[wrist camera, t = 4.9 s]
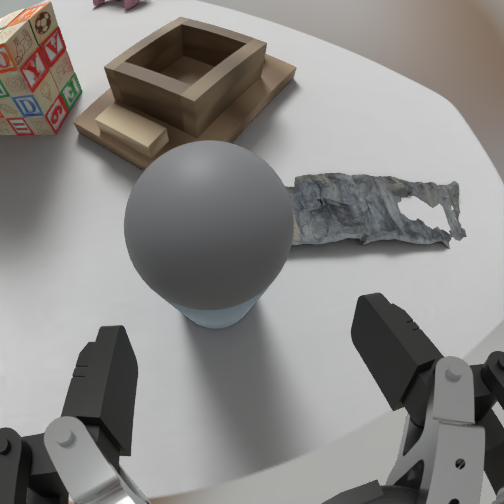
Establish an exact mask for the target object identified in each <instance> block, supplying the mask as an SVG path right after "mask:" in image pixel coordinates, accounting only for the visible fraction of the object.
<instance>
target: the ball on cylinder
mask: <svg viewBox="0 0 504 504" xmlns="http://www.w3.org/2000/svg"><path fill="white" fill-rule="evenodd" d="M293 232H294V217H293V210H292V206H291V202H290V198H289V195H288V193H287V190H286V188H285V186H284V184H283V183H282V181H281V179H280V178H279V176H278V175H277V174H276V172H275V171H274V170H273V169H272V168H271V167H270V166H269V165H268V163H267V162H265V161H264V160H263V159H262V158H260V157H259V156H257V155H256V154H254V153H253V152H251V151H249V150H247V149H245V148H243V147H241V146H238V145H235V144H232V143H228V142H223V141H214V140H207V141H196V142H191V143H187V144H184V145H181V146H178V147H176V148H174V149H171V150H169V151H168V152H166V153H164V154H163V155H161V156H160V157H159V158H157V159H156V160H155V161H154V162H153V163H151V164H150V165H149V166H148V167H147V168H146V169H145V171H144V172H143V173H142V174H141V176H140V177H139V179H138V180H137V182H136V184H135V185H134V187H133V189H132V192H131V194H130V196H129V199H128V202H127V206H126V211H125V219H124V235H125V241H126V246H127V249H128V253H129V256H130V259H131V261H132V263H133V265H134V267H135V269H136V270H137V272H138V273H139V275H140V276H141V278H142V279H143V280H144V281H145V282H146V284H147V285H148V286H149V287H150V288H151V289H152V290H154V291H155V292H156V293H157V294H158V295H160V296H161V297H162V298H163V299H165V300H166V301H167V302H168V303H170V304H171V305H172V306H174V307H175V308H176V309H177V310H179V311H180V312H181V313H183V314H184V315H185V316H186V317H188V318H189V319H190V320H192V321H193V322H194V323H196V324H198V325H200V326H203V327H206V328H211V329H220V328H226V327H229V326H231V325H233V324H235V323H237V322H238V321H240V320H241V319H242V318H243V317H244V316H245V315H246V314H247V312H248V311H249V310H250V309H251V308H252V306H253V305H254V304H255V303H256V302H257V300H258V299H259V298H260V297H261V295H262V294H263V293H264V292H265V291H266V289H267V288H268V287H269V286H270V285H271V283H272V282H273V281H274V280H275V278H276V277H277V275H278V274H279V273H280V271H281V270H282V268H283V266H284V264H285V262H286V260H287V258H288V255H289V252H290V249H291V245H292V240H293Z"/></svg>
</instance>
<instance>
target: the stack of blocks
mask: <svg viewBox="0 0 504 504" xmlns="http://www.w3.org/2000/svg"><path fill="white" fill-rule="evenodd" d="M81 93H82V89H81V86H80V84H79V81H78V78H77V76H76V73H75V72H74V70H73V67H72V64H71V61H70V58H69V56H68V53H67V51H66V46H65V43H64V40H63V37H62V34H61V31H60V28H59V26H58V24H57V20H56V17H55V14H54V10H53V7H52V3H51V1H50V2H46V3H43V4H40V5H37V6H34V7H31V8H28V9H26V8H24V9H21V10H19V11H16V12H13V13H11V14H9V15H7V16H5V17H3V18H1V19H0V136H1V135H56V134H57V132H58V130H59V128H60V127H61V125H62V123H63V121H64V120H65V118H66V116H67V115H68V113H69V111H70V109H71V108H72V106H73V105H74V103H75V101H76V100H77V98H78V97H79V95H80V94H81Z"/></svg>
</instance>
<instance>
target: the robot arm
mask: <svg viewBox="0 0 504 504" xmlns="http://www.w3.org/2000/svg"><path fill="white" fill-rule="evenodd" d="M351 337H352V341H353V344H354V346H355V347H356V349H357V351H358V352H359V354H360V356H361V357H362V359H363V361H364V362H365V364H366V366H367V367H368V369H369V371H370V372H371V374H372V376H373V377H374V379H375V381H376V383H377V384H378V386H379V388H380V389H381V391H382V393H383V395H384V396H385V398H386V400H387V401H388V403H389V405H390V407H391V408H392V410H393V411H395V410H397V409H400V408H402V407H405V408H406V410H407V412H408V414H407V416H406V420H405V426H404V431H403V435H402V440H401V445H400V449H399V453H398V457H397V461H396V463H395V465H394V467H393V469H392V471H391V473H390V475H389V477H388V479H387V482H386V485H385V486H380V485H379V483H378V480H375V481H372V482H369V483H367V484H364V485H361V486H359V487H356V488H353V489H350V490H347V491H344V492H341V493H340V494H338V495H336V496H334V497H333V498H331V499H329V500H327V501H326V502H324V503H322V504H479V503H480V496H481V488H482V480H483V469H484V471H485V473H486V475H487V477H488V479H489V481H490V483H491V485H492V487H493V489H494V492H495V494H496V496H497V497H496V500H495V501H494V502H493V503H492V504H504V428H503V426H502V424H501V423H500V421H499V420H498V418H497V416H496V415H495V414H494V412H493V410H492V409H491V408H492V407H493V405H494V404H495V403H496V402H497V401H498V402H499V403H500V405H501V407H502V408H503V410H504V352H501V351H495V352H492V353H491V354H490V355H489V357H488V358H487V360H486V362H485V363H484V364H479V365H471V366H469V365H468V364H467V363H466V362H465V361H463V360H462V359H460V358H457V357H452V356H448V357H444V356H443V355H442V354H441V353H440V352H439V350H438V349H437V348H436V347H435V345H434V344H433V343H432V342H431V341H430V339H429V338H428V337H427V336H426V335H425V333H424V332H423V331H422V330H421V329H419V326H418V325H417V324H416V323H415V322H413V319H412V318H411V317H410V316H409V315H408V314H407V313H406V311H405V310H403V309H401V308H400V307H398V306H396V305H395V304H390V303H389V301H388V300H387V299H386V298H385V297H384V296H383V295H382V294H381V293H373V294H368V295H362V296H360V297H359V298H358V301H357V305H356V310H355V314H354V319H353V323H352V327H351ZM137 379H138V365H137V360H136V356H135V354H134V351H133V349H132V346H131V344H130V341H129V338H128V335H127V333H126V330H125V328H124V326H122V325H119V326H102V327H100V329H99V332H98V335H97V338H96V341H95V342H89V343H88V344H87V345H86V346H85V347H84V349H83V350H82V351H81V352H80V354H79V357H78V360H77V363H76V368H75V369H74V372H73V378H72V379H71V382H70V386H69V389H68V392H67V396H66V400H65V403H64V407H63V411H62V414H61V417H60V418H57V419H55V420H54V421H52V422H51V423H50V424H49V426H48V427H47V429H46V431H45V433H42V434H37V435H31V436H25V437H21V436H20V435H19V434H18V433H17V432H16V431H15V430H13V429H11V428H1V429H0V504H68V497H69V494H70V496H71V498H72V499H73V501H74V503H75V504H152V503H151V502H150V501H149V500H148V499H147V498H146V497H145V495H144V494H143V493H142V492H141V491H140V489H139V488H138V487H137V486H136V485H135V483H134V482H133V481H132V480H131V478H130V477H129V476H128V474H127V473H126V472H125V471H124V469H123V468H122V467H121V465H120V464H119V456H131V442H132V428H133V416H134V406H135V396H136V387H137ZM27 489H28V491H27ZM26 500H27V503H26Z"/></svg>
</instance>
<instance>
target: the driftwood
mask: <svg viewBox="0 0 504 504" xmlns="http://www.w3.org/2000/svg"><path fill="white" fill-rule="evenodd" d="M294 184H295V187H286V186H285V188H286V190H287V193H288V195H289V198H290V202H291V206H292V210H293V217H294V232H293V240H292V245H300V244H306V243H307V244H314V245H315V244H322V243H323V244H324V243H329V242H336V241H339V240H343V239H346V238H359V239H360V241H359V243H360V244H361V245H365V244H367V243H370V242H373V241H377V240H382V239H385V240H391V239H397V240H401V241H406V242H409V243H410V242H412V243H414V244H415V243H416V244H432V243H435V242H437V241H438V242H439V241H441V242H443V243H444V244H445V245H446V246H448V247H449V241H450V240H451V237H454V238H455V239H456V240H459V241H460V240H461V239H462V238H463V237H466V233H465V229H463V228H461V225H460V223H459V221H458V216H459V213H460V210H459V204H458V199H459V185H458V183H457V182H455V181H453V182H452V183H451V184H450V185H449V184H448V185H439V186H438V185H436V184H435V183H433V182H429V183H422V182H416V183H412V182H408V181H404V180H401V179H398V178H395V177H391V176H387V177H385V176H384V177H381V176H379V177H374V176H369V175H363V174H362V175H352V176H349V175H346V174H342V173H325V174H318V175H304V176H299V177H296V178H295V183H294ZM407 194H410V195H411V196H416V197H417V198H419V199H420V200H422V201H423V202H426V203H427V204H428V205H429V206H430V207H432V208H433V207H435V206H437V205H438V204H439V203H440V204H441V205H442V206H443V208H444V211H445V214H446V217H447V220H448V223H449V226H450V228H451V230H450V231H449V232H450V234H451V235H452V236H451V235H450V234H448V233H447V232H445V231H444V230H440V229H439V228H438V227H436V228H435V229H431V228H430V227H427V225H425V224H424V222H423V221H421V220H419V219H418V218H417V220H416V221H412V220H410V219H408V218H407V217H406V216H405V215H403V214H401V213H400V210H399V208H398V204H397V203H398V202H400V201H401V197H408V196H407ZM451 205H452V206H453V208H454V210H452V211H451ZM455 217H456V219H455ZM449 248H450V247H449Z"/></svg>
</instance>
